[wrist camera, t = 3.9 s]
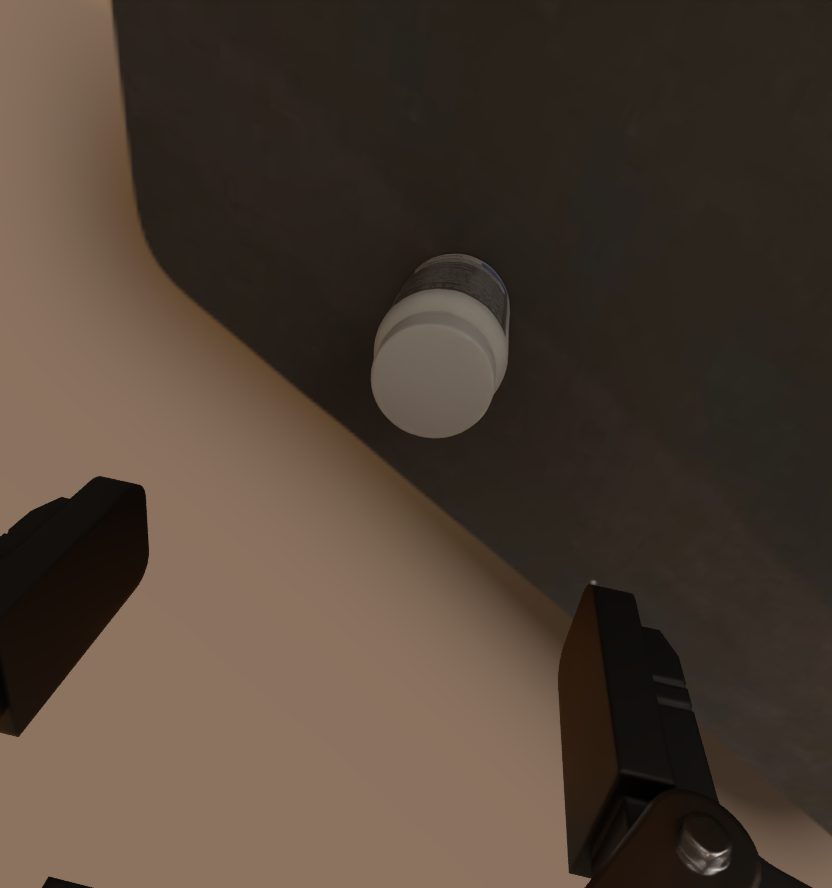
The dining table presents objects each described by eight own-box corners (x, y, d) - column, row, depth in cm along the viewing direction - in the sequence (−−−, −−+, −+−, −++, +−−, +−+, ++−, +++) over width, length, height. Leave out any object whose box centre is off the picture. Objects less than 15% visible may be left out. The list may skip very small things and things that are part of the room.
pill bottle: (387, 266, 27) (338, 328, 20) (497, 239, 26) (487, 294, 19) (416, 370, 29) (381, 460, 22) (520, 348, 28) (519, 436, 21)
